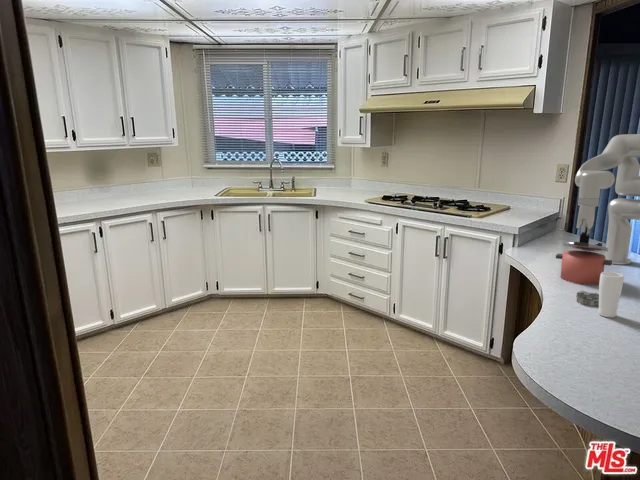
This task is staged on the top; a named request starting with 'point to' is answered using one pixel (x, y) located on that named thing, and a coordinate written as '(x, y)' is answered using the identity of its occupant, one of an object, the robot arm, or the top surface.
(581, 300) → the egg carton
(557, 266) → the top surface
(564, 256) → the cooker pot
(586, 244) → the cooker lid
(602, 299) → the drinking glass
